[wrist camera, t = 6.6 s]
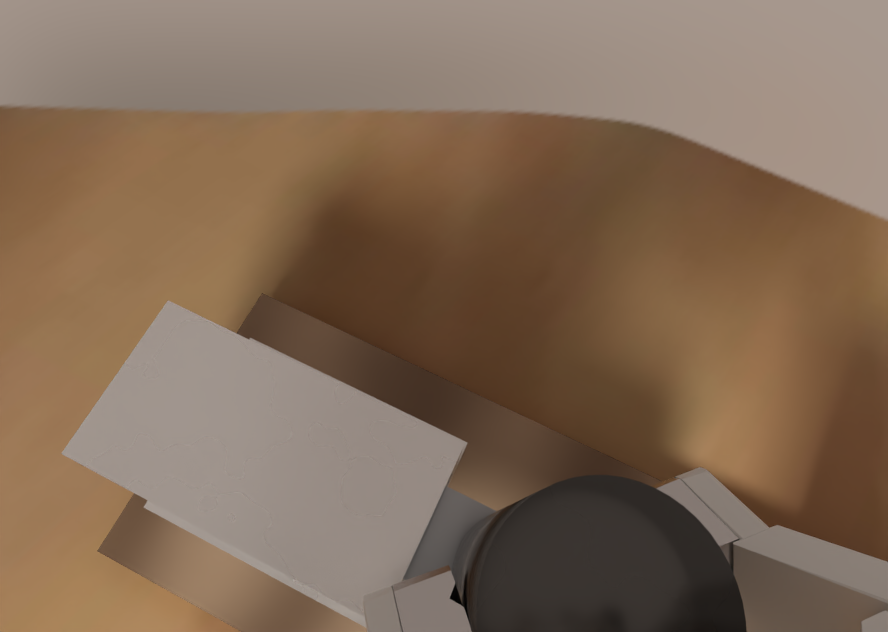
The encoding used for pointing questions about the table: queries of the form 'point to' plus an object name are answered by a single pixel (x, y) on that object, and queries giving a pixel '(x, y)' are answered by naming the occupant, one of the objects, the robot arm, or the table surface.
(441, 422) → the base board
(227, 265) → the table surface
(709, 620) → the slide bolt
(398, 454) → the sleeve
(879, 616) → the robot arm
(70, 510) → the table surface
